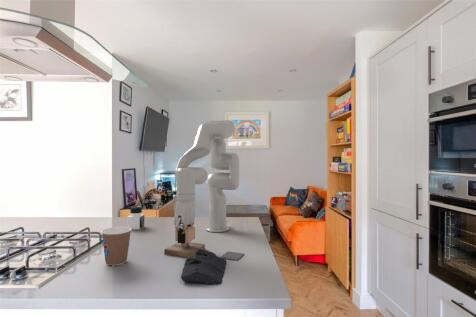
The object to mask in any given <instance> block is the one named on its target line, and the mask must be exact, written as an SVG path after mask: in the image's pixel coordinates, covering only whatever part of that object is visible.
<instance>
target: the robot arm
mask: <svg viewBox="0 0 476 317" xmlns="http://www.w3.org/2000/svg"><path fill="white" fill-rule="evenodd" d="M235 127H236V126H235V123H234V122H233V121H232V120H230V119H224V120H222V119H220V120H209V121H205V122H203V123H201V124H200V125H199V127H198V130H197V132H196V133H197V134H196V136H195V138H194V143H193V146H192V147H191V148H190V149H188V150H187V151H185V153H184V154H182V156H181V157H180V158H179V160H178V162H177V164H176V168H175V172H174V179H175V181H176V202H175V208H174V220H173V221H174V222H173V224H174V229H176V230H177V233H178V241H177V243H182V244H184V243H185V233H184V232H185V226H191V227H194V224H195V218H196V211H195V210H196V207H195V201H196V185H202V184H204V183H206V182H207V188H208V226H206V227H205V230H206V231H207V232H210V233H225V232H228V231H229V230H230V227H229V226H228V225H227V223H228V222H229V221H228V220H227V196H226V193H225V192H224V191H236V190H238V188H239V185H240V158H239V155H238V154H237V153H234V152H227V148H226V147H227V145H226V144H227V143H226V141H225V140H226V139H228V138H231V137H232V136H233V135H234V134H235V129H236V128H235ZM209 154H210V167H211V169H213V170H215V171H216V170H217V171H216V172H212V173H210V174H208V172H207V170H206V169H205V168H204V167H198V166H197V167H193V166H190V165H191V164H192V163H193V162H195V161H197V160H199V159H202V158H204V157H206V156H208V155H209ZM219 170H220V171H221V172H220V171H219ZM218 171H219V172H218ZM223 171H229V172H223ZM180 227H183V229H181V228H180Z"/></svg>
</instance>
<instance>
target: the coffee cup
mask: <svg viewBox="0 0 476 317" xmlns="http://www.w3.org/2000/svg"><path fill="white" fill-rule="evenodd" d="M131 231H133V229H131V228H130V227H127V226H114V227H113V226H112V227H108V228H104V229H103V230H101V231H100V232H101V235H102V236H101V237H102V245H103V252H104V253H103V254H104V262H105V265H106V266H109V265H112V266H113V265H117V266H120V265H124V264H126V263H127V259H128V255H129V254H128V253H129V249H130V248H129V247H130V240H131V233H132V232H131ZM112 266H111V267H112ZM113 267H114V266H113Z"/></svg>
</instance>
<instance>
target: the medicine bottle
mask: <svg viewBox="0 0 476 317" xmlns="http://www.w3.org/2000/svg"><path fill="white" fill-rule="evenodd" d="M129 210H130V212H129V214H130V215H128V216H127V219H126V223H127V224H126V227H130V228H131V229H132V231H133V230H138V231H139V230H142V229H143V228H145V213H144V214H143V213H142V212H143V207H142V206H139V205H138V206H135V205H134V206H132V207H130V208H129Z"/></svg>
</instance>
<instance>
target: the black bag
mask: <svg viewBox="0 0 476 317" xmlns="http://www.w3.org/2000/svg"><path fill="white" fill-rule="evenodd" d="M220 257H221V256H220ZM220 257H219V255H217V254H215V253H214V252H212V251H210V250H205V249H204V250H203V249H199V250H198V252H197V253H196V255H194V257H191V258H186V260H185V262H184V264H183V268H182V270H181V271H182V273H181V275H180V277H181V278H180V279H181V280H182V281H183V282H188V283H189V282H190V283H191V282H192V283H200V284H207V285H220V284H222V282H223V278H224V274H225V270H226V265H227V259H223V258H220Z"/></svg>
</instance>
